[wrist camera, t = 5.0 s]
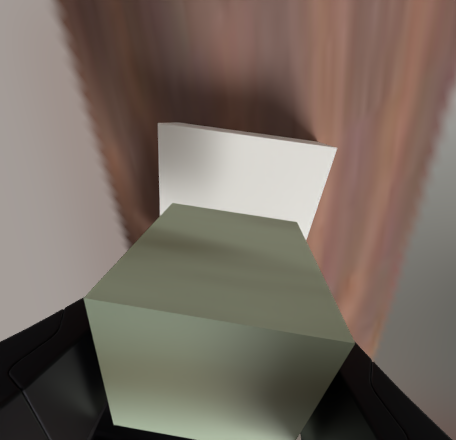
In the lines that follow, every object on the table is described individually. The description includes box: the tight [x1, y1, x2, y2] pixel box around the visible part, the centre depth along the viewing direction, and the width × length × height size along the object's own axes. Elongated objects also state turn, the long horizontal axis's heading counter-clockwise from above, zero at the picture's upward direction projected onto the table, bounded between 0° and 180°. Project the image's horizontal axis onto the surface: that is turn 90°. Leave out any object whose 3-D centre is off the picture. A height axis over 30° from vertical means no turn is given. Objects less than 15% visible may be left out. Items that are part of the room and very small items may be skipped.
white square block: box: [158, 122, 337, 240], centre depth 16 cm, size 10×10×4 cm
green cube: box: [84, 203, 355, 440], centre depth 7 cm, size 5×5×5 cm
